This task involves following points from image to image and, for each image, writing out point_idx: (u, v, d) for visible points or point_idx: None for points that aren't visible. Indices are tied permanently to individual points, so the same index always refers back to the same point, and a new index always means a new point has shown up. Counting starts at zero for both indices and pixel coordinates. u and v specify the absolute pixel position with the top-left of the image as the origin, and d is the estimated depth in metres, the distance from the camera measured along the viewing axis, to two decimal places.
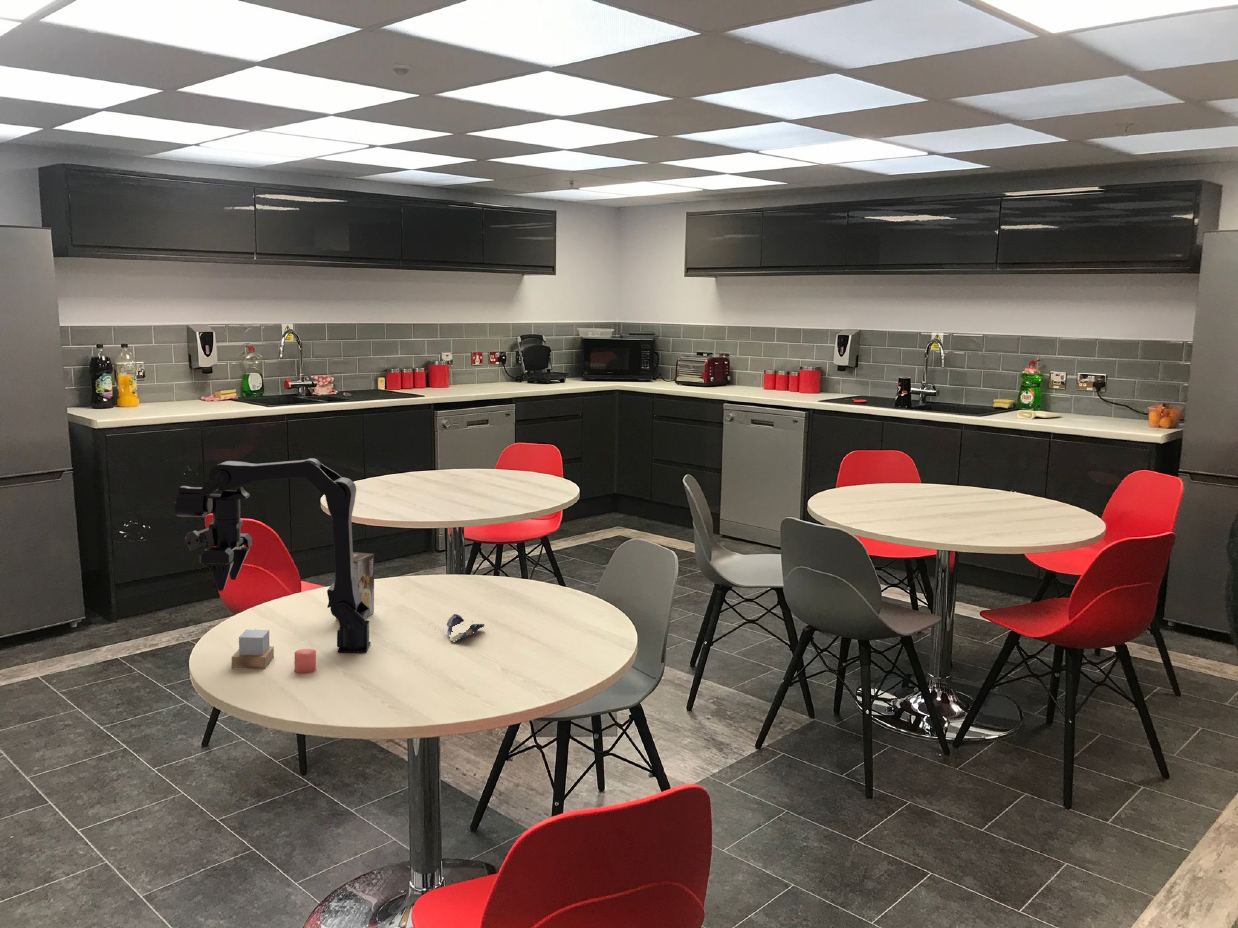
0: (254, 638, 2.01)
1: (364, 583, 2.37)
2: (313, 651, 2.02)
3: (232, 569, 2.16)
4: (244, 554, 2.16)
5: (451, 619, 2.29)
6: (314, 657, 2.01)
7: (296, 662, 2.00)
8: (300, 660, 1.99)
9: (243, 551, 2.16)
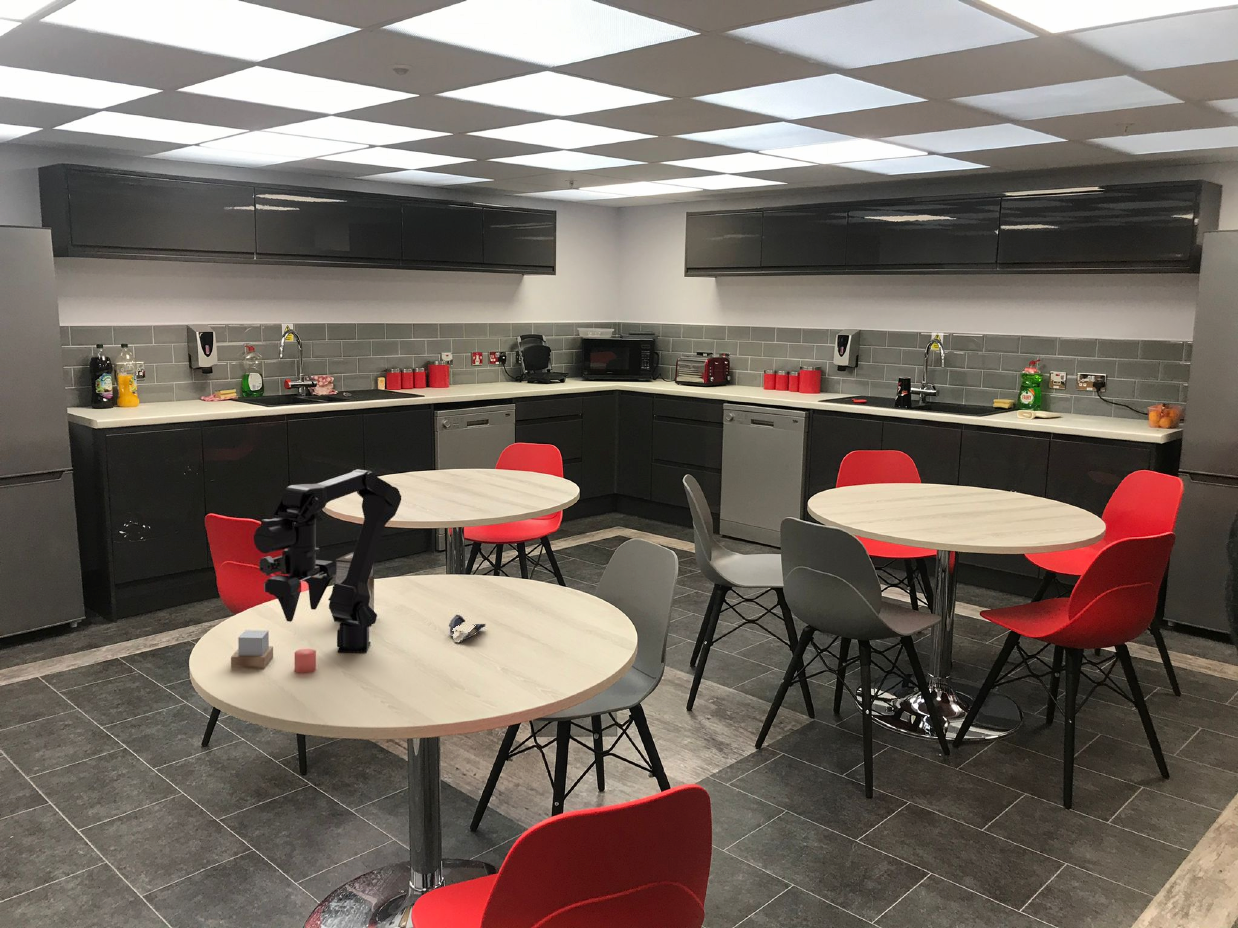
0: (253, 638, 2.01)
1: None
2: (313, 651, 2.02)
3: (312, 598, 2.05)
4: (324, 583, 2.04)
5: (453, 620, 2.29)
6: (314, 657, 2.01)
7: (296, 662, 2.00)
8: (300, 660, 1.99)
9: (323, 580, 2.04)
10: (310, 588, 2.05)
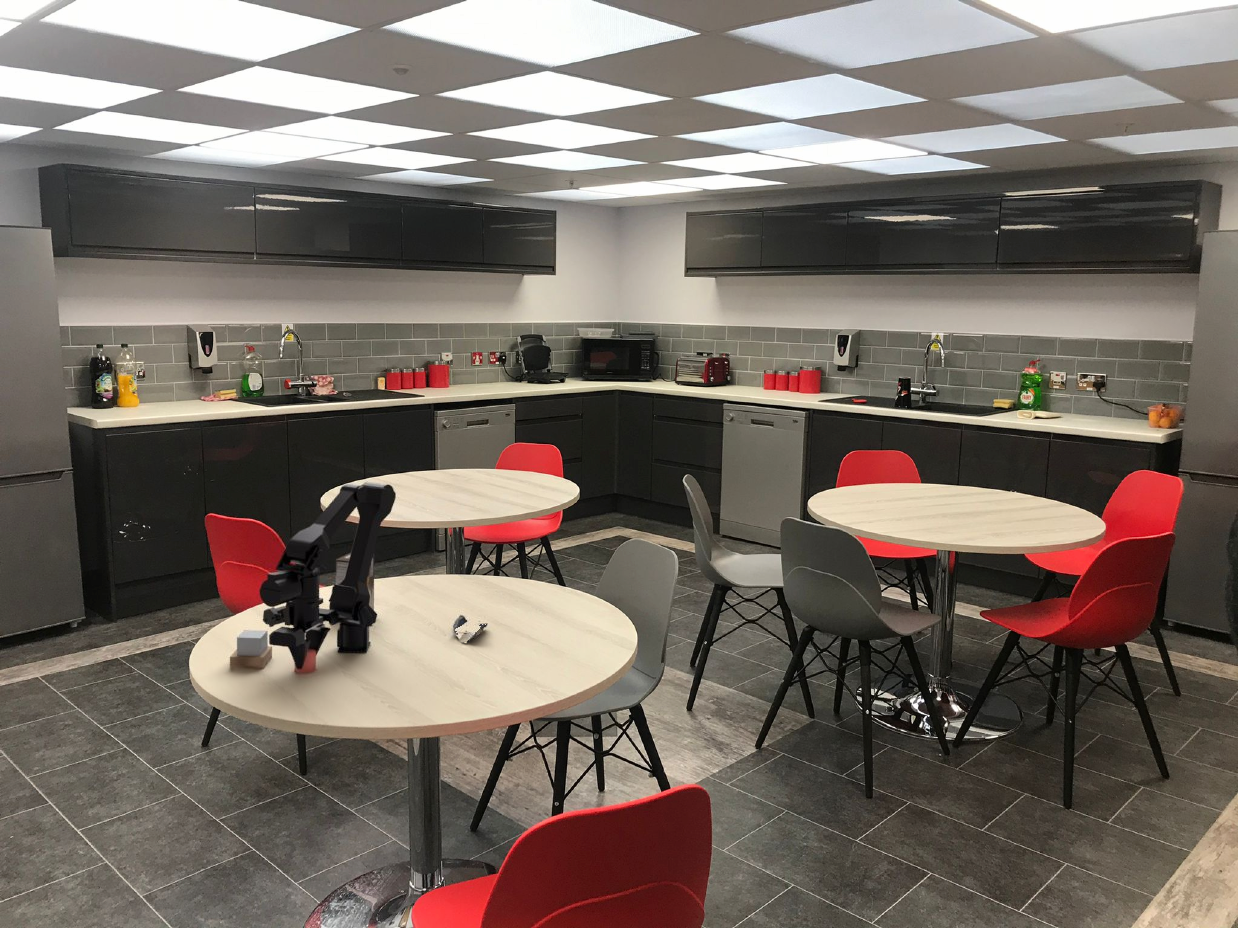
0: (252, 638, 2.01)
1: None
2: (313, 651, 2.02)
3: None
4: (322, 636, 2.03)
5: (457, 620, 2.28)
6: (314, 657, 2.01)
7: None
8: None
9: (321, 632, 2.03)
10: None
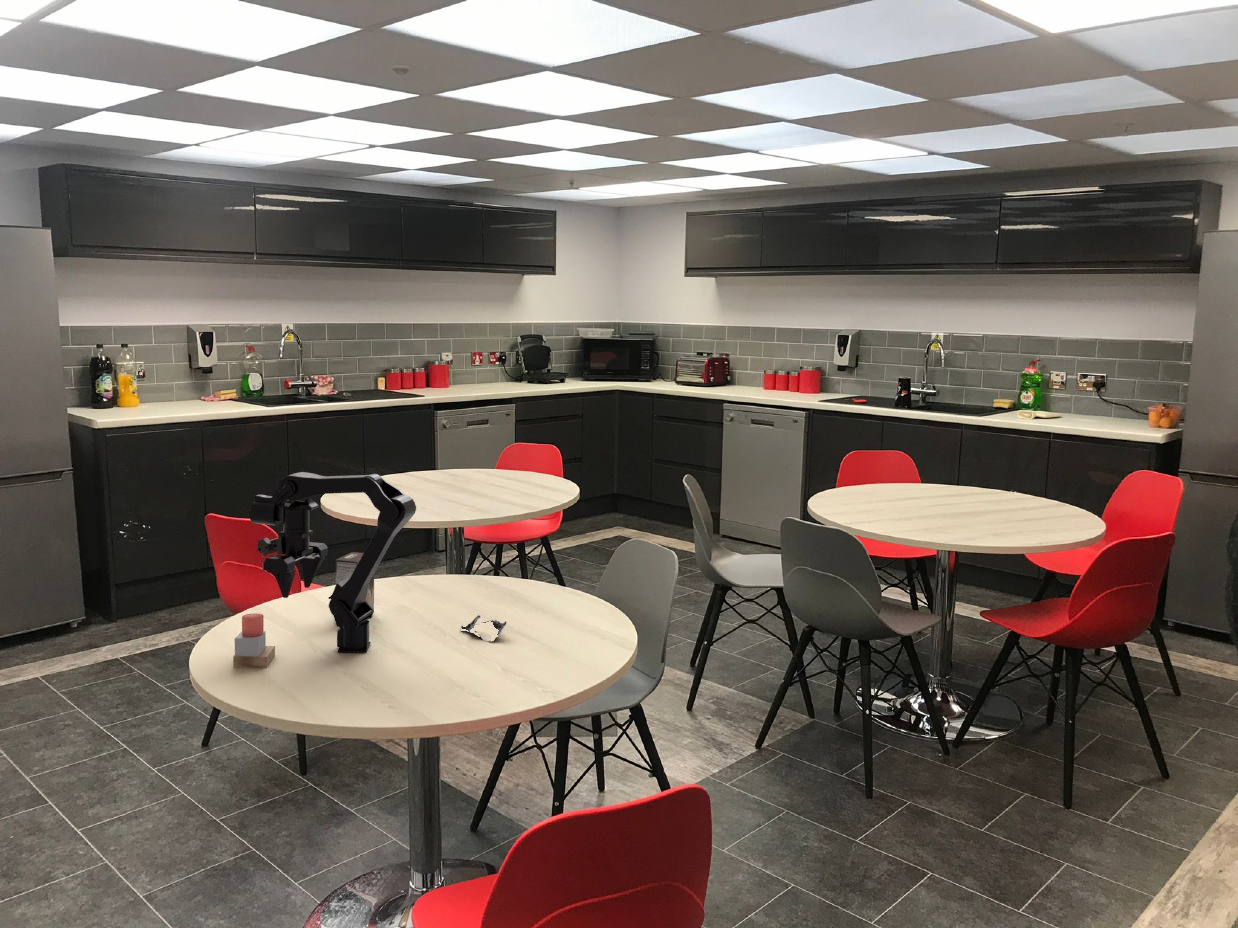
0: (250, 639, 2.01)
1: None
2: (261, 615, 2.04)
3: (306, 577, 2.21)
4: (317, 563, 2.21)
5: (475, 621, 2.28)
6: (261, 621, 2.03)
7: (243, 625, 2.02)
8: (247, 623, 2.01)
9: (316, 560, 2.21)
10: (304, 568, 2.22)
